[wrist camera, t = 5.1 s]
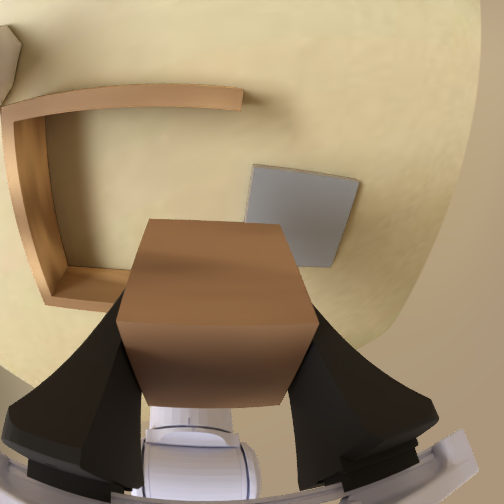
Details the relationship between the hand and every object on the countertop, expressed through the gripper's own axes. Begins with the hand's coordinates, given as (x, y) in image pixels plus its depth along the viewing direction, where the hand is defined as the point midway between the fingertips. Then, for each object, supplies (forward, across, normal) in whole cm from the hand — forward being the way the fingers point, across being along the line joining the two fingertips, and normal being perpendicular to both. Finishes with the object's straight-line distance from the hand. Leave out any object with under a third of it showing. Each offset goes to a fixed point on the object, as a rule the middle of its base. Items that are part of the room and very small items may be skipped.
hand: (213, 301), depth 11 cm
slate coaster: (+8, -6, +1) cm, 10 cm away
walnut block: (+2, 0, 0) cm, 2 cm away
